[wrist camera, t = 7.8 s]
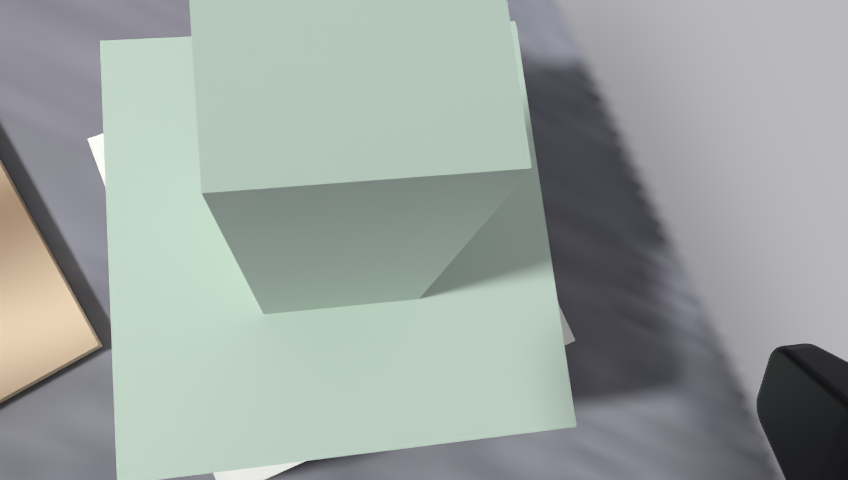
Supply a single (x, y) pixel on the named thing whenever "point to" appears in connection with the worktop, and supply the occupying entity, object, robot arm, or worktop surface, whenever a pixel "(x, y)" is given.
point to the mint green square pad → (34, 302)
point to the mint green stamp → (325, 236)
